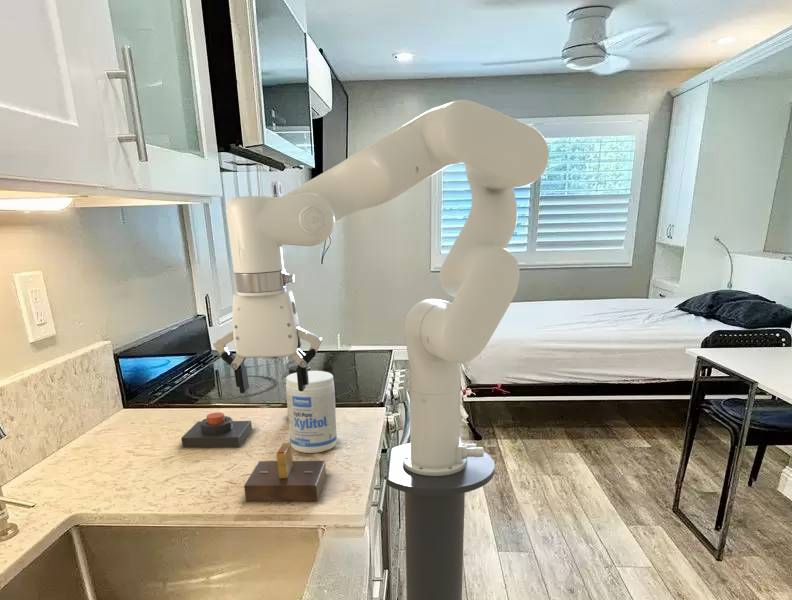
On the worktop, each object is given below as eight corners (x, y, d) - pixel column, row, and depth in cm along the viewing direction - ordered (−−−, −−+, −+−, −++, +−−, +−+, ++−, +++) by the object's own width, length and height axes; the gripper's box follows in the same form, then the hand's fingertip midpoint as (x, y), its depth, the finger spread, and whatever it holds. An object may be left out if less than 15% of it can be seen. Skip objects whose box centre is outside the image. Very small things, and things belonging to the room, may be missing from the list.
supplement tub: (295, 457, 111) (288, 385, 106) (286, 441, 120) (280, 373, 114) (343, 450, 114) (339, 379, 109) (331, 434, 123) (327, 367, 117)
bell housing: (252, 430, 127) (250, 413, 125) (239, 447, 117) (237, 429, 116) (199, 430, 127) (196, 413, 126) (182, 447, 118) (179, 429, 117)
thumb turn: (285, 466, 100) (282, 441, 99) (293, 466, 100) (290, 441, 98) (278, 478, 96) (276, 452, 94) (287, 478, 96) (284, 452, 94)
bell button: (227, 419, 123) (226, 412, 122) (222, 425, 119) (220, 417, 119) (210, 420, 123) (209, 412, 122) (205, 425, 120) (204, 418, 119)
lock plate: (326, 475, 103) (324, 459, 102) (317, 501, 94) (316, 484, 93) (261, 476, 104) (259, 460, 103) (246, 501, 95) (243, 484, 94)
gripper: (319, 278, 91) (328, 382, 97) (212, 282, 92) (228, 385, 98) (313, 284, 84) (322, 395, 90) (197, 288, 85) (215, 398, 91)
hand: (273, 390), depth 94 cm, fingers open, 9 cm apart
